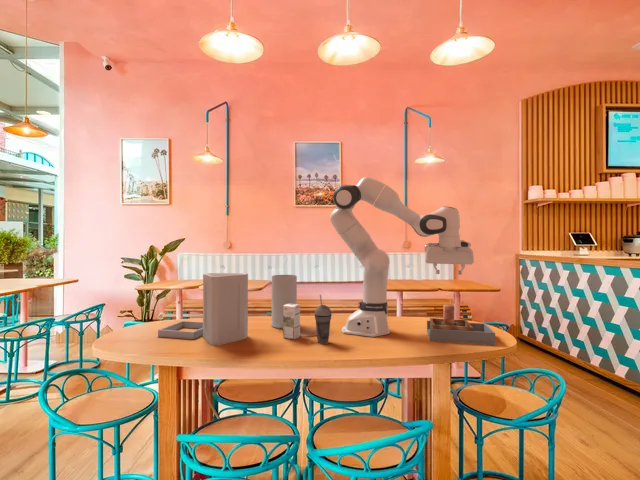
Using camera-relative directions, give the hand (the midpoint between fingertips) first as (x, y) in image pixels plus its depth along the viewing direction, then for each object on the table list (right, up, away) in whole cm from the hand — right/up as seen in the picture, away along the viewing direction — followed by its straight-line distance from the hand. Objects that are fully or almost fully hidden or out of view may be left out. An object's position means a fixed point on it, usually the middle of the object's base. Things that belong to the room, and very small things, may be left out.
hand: (448, 274), depth 154 cm
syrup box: (-70, -28, -2) cm, 75 cm away
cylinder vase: (-75, -28, +19) cm, 83 cm away
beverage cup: (-56, -28, -9) cm, 63 cm away
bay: (+4, -28, -1) cm, 28 cm away
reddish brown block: (0, -26, 0) cm, 26 cm away
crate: (+1, -27, 0) cm, 27 cm away
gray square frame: (-119, -28, +5) cm, 122 cm away
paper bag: (-100, -28, -6) cm, 104 cm away
